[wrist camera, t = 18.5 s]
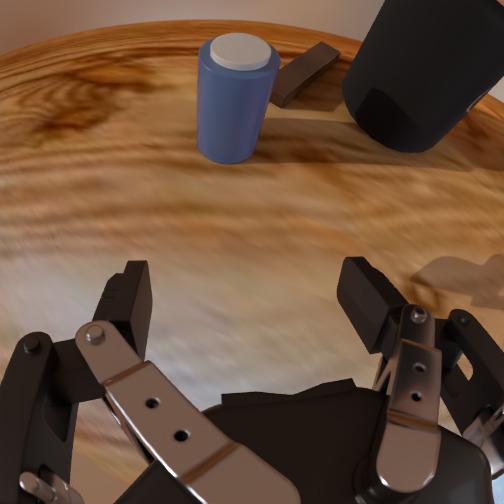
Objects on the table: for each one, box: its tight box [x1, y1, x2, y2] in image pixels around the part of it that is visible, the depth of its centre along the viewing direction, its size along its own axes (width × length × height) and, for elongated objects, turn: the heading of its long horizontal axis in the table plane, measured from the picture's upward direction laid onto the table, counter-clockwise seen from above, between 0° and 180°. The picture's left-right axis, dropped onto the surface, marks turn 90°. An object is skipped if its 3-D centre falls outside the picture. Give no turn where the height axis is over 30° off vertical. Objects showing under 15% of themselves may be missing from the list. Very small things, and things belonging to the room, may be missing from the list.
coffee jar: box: [343, 0, 504, 152], centre depth 17 cm, size 11×11×18 cm
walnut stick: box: [269, 42, 341, 108], centre depth 24 cm, size 11×2×2 cm, turn 144°
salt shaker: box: [196, 33, 281, 164], centre depth 17 cm, size 4×4×8 cm
